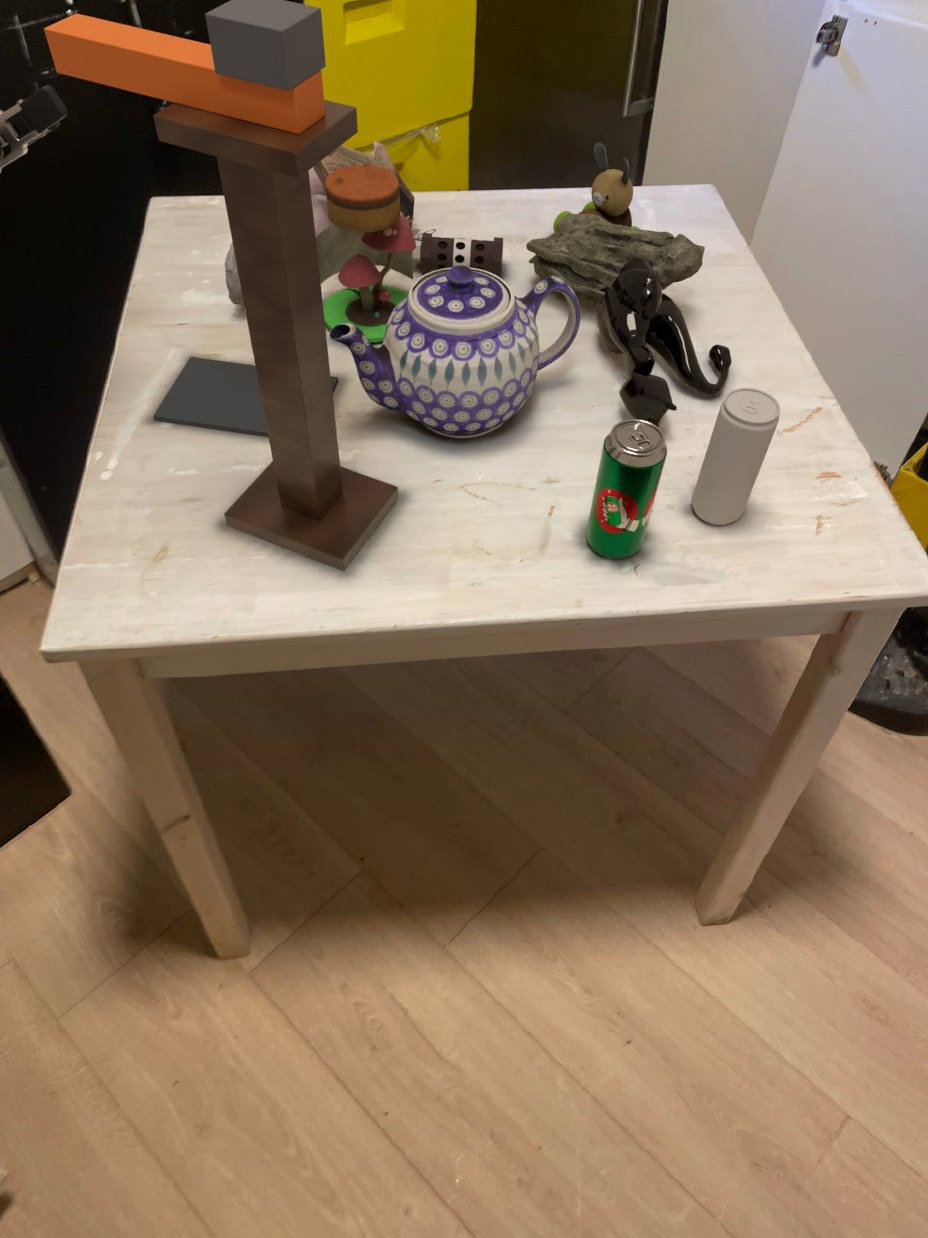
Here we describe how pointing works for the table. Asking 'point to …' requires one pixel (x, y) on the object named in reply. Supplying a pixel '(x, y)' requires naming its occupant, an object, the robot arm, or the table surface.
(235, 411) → the grey mat
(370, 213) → the mushroom terrarium
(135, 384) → the table surface
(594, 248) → the stone
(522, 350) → the teapot
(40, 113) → the robot arm
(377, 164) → the fragment
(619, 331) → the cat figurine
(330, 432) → the walnut stand
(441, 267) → the brown holed brick
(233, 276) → the stone
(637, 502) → the soda can
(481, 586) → the table surface
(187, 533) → the table surface
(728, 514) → the beverage can
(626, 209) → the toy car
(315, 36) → the hammer with orange handle
